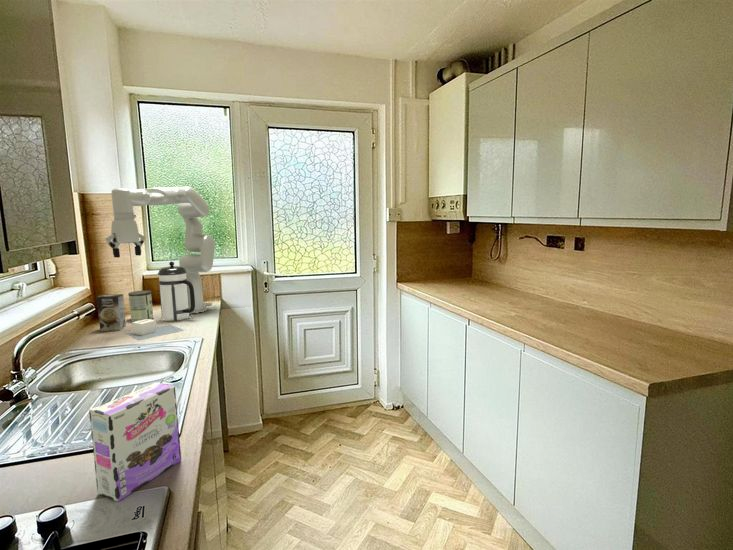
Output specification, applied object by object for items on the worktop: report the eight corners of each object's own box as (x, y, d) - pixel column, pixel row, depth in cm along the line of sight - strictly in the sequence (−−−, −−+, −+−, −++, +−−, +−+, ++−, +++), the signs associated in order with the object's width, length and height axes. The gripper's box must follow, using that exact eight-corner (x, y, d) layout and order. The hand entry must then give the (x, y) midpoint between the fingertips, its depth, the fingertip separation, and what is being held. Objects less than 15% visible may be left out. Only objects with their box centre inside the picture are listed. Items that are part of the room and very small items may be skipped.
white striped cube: (146, 329, 179) (145, 318, 178) (156, 331, 176) (155, 320, 176) (133, 333, 174) (131, 321, 173) (142, 335, 171) (141, 323, 170)
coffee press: (156, 327, 190) (151, 264, 186) (162, 319, 205) (157, 260, 201) (196, 323, 195) (191, 262, 191) (199, 316, 210) (194, 259, 206)
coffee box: (99, 331, 184) (95, 296, 182) (106, 327, 190) (102, 294, 188) (121, 330, 185) (117, 295, 183) (126, 326, 191) (123, 293, 189)
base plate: (170, 327, 188) (169, 324, 188) (185, 333, 178) (185, 330, 178) (125, 336, 174) (124, 333, 174) (138, 343, 164) (138, 340, 164)
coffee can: (130, 318, 208) (127, 291, 206) (153, 315, 213) (150, 289, 211) (130, 322, 199) (128, 294, 197) (154, 319, 204) (151, 292, 202)
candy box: (117, 503, 71) (107, 415, 68) (96, 494, 73) (86, 409, 71) (182, 460, 83) (176, 384, 81) (163, 454, 85) (156, 380, 83)
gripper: (137, 217, 185) (140, 254, 187) (98, 217, 170) (102, 257, 172) (148, 217, 182) (151, 254, 184) (109, 217, 166) (113, 258, 169)
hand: (127, 256), depth 178 cm, fingers open, 9 cm apart
